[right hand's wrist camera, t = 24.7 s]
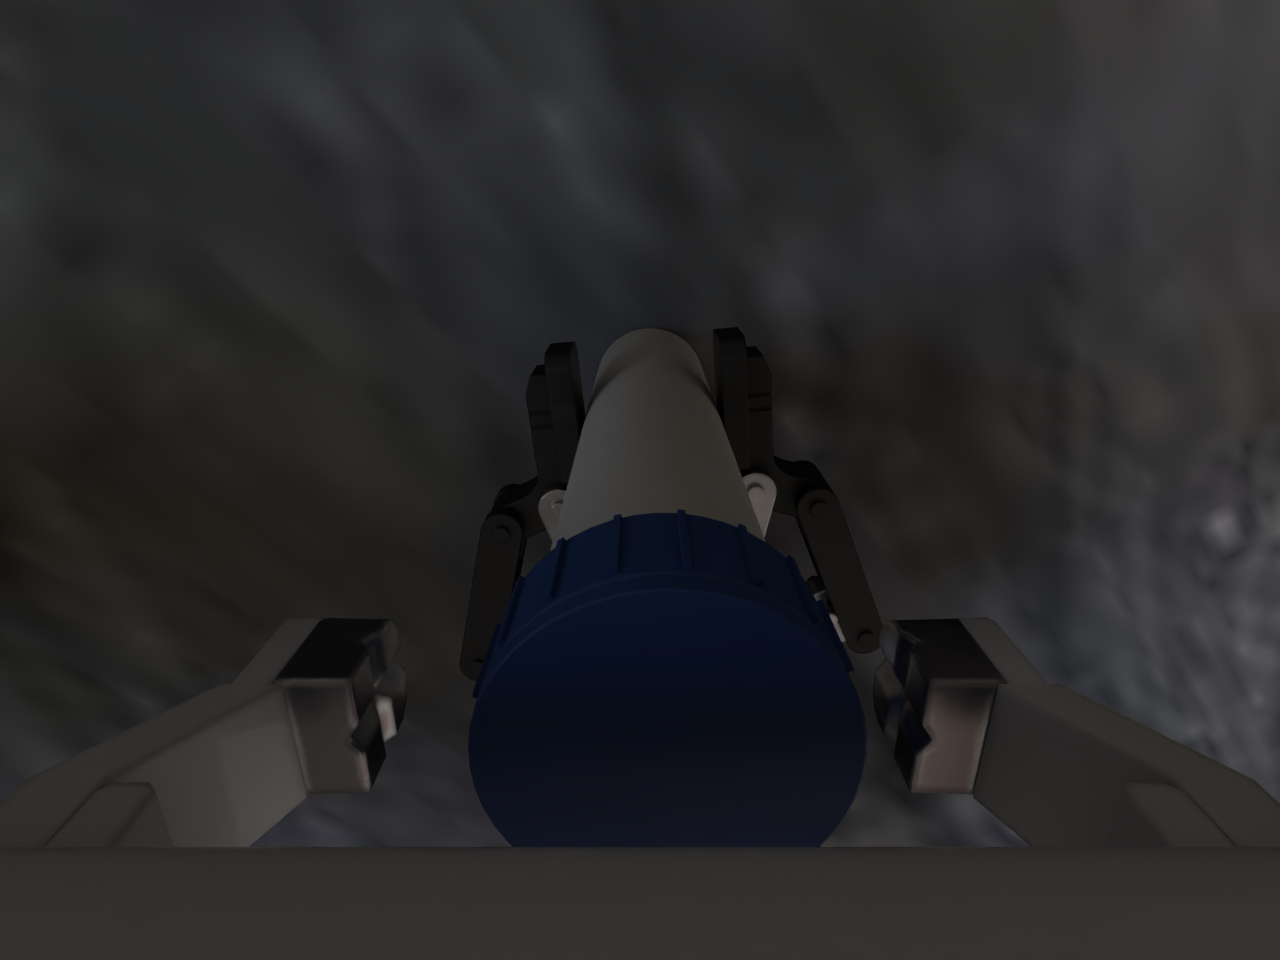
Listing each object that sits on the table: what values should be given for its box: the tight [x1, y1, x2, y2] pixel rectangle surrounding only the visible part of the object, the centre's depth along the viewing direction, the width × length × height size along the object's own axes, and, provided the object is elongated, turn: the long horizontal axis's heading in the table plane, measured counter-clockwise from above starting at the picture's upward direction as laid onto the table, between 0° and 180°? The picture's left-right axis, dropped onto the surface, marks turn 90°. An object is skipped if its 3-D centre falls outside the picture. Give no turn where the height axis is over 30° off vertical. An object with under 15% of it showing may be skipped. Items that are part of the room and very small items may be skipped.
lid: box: [468, 509, 867, 847], centre depth 10 cm, size 5×5×2 cm
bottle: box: [550, 328, 765, 551], centre depth 18 cm, size 4×4×19 cm
